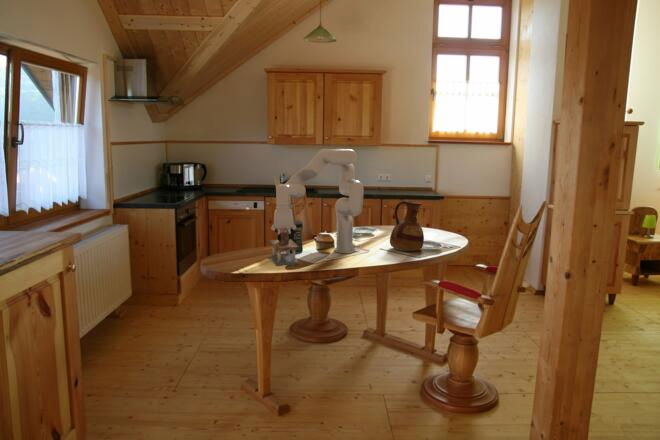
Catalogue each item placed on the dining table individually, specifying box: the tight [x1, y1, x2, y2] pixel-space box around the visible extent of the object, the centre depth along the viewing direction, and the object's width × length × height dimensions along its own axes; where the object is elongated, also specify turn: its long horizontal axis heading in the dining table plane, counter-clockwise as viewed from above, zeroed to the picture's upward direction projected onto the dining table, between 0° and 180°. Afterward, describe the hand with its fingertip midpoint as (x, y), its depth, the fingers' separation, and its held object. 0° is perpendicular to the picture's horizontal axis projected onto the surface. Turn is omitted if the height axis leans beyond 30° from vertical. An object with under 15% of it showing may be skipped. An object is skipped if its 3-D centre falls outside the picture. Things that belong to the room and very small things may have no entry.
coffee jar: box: [285, 220, 304, 254], centre depth 302 cm, size 10×8×19 cm
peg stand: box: [269, 246, 300, 267], centre depth 283 cm, size 12×20×8 cm, turn 17°
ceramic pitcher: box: [389, 199, 425, 252], centre depth 309 cm, size 20×20×30 cm
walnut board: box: [269, 230, 299, 252], centre depth 282 cm, size 12×20×8 cm, turn 17°
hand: (283, 240), depth 282 cm, fingers closed on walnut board, 3 cm apart
